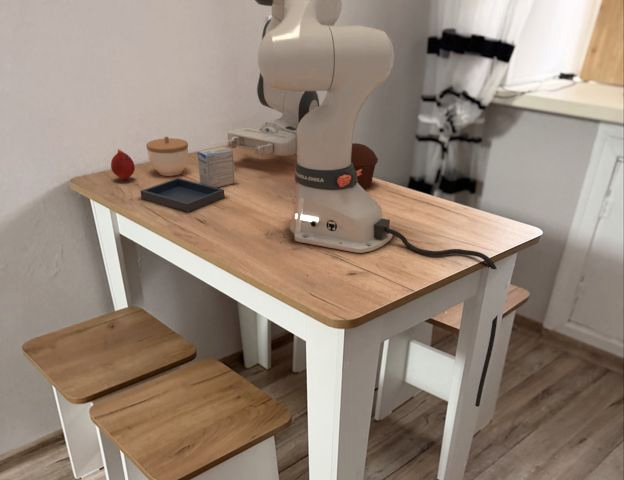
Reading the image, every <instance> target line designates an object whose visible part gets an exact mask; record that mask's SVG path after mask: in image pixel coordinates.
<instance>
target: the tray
mask: <svg viewBox="0 0 624 480" xmlns="http://www.w3.org/2000/svg"><path fill="white" fill-rule="evenodd" d="M139 191H140V196H141V197H140V199H141V200H144V201H147V202H151V203H155V204H159V205H161V206H164V207H168V208H171V209H174V210H178V211H181V212H186V213H190V212H193V211H196V210H198V209H200V208H201V209H202V208H203V207H205V206H208V205H210V204H213V203H215V202H218V201H220V200H222V199H223V200H224V199H225V198H226V197H225V189H223V188H220V187H217V188H215V187H212V186H208V185H204V184H200V182H195V181H192V180H188V179H184V178H180V177H176V178H173V179H171V180H168V181H165V182H162V183H159V184H156V185H153V186H150V187H148V188H144V189H142V190H139Z"/></svg>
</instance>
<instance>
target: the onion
mask: <svg viewBox="0 0 624 480" xmlns="http://www.w3.org/2000/svg"><path fill="white" fill-rule="evenodd" d="M135 167H136V166H135V162H134V160H133V159H132V157H130V156H129V154H128V153H125V152H124V151H123V150H122V149H121V148H118V149H117V152H116V154H115V155H114V156H113V157H112V158H111V161H110V169H111V171H112V173H113V174H114V175H115V176H116V177H118V178H119V179H121V181H127V180H128V179H130V177H132V175H133V174H134V172H135Z"/></svg>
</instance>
